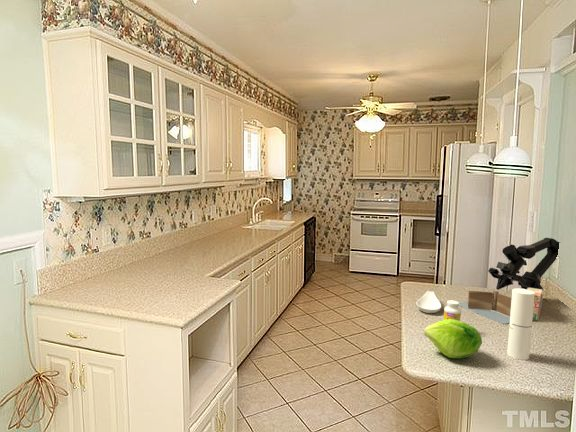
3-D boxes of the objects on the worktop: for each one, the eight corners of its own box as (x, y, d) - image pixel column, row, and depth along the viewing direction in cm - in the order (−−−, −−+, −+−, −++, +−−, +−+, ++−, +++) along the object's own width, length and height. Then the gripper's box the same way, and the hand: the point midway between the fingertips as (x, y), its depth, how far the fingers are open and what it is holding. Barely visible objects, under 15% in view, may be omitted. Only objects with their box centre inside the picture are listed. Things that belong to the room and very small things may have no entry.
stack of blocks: (527, 306, 201) (529, 283, 199) (541, 308, 197) (544, 285, 196) (522, 317, 184) (524, 292, 182) (538, 320, 180) (540, 295, 179)
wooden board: (467, 306, 196) (468, 290, 195) (490, 308, 194) (492, 292, 193) (468, 307, 195) (469, 291, 194) (491, 309, 193) (493, 293, 192)
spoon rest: (440, 317, 184) (441, 303, 183) (415, 313, 189) (415, 299, 188) (441, 302, 206) (442, 289, 205) (418, 299, 210) (418, 286, 210)
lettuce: (420, 344, 155) (428, 310, 156) (474, 360, 148) (482, 325, 149) (420, 350, 141) (428, 313, 142) (480, 369, 134) (488, 330, 135)
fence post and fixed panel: (494, 309, 195) (495, 291, 194) (522, 320, 180) (523, 300, 179) (490, 309, 194) (492, 291, 193) (518, 320, 180) (519, 301, 179)
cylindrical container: (520, 361, 141) (526, 295, 138) (502, 353, 148) (507, 289, 145) (533, 357, 144) (539, 293, 141) (515, 349, 150) (520, 287, 148)
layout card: (478, 300, 209) (478, 300, 208) (528, 320, 181) (528, 319, 181) (455, 303, 203) (455, 303, 203) (503, 324, 176) (503, 323, 176)
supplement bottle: (443, 332, 167) (444, 303, 165) (442, 326, 173) (444, 298, 171) (460, 334, 164) (461, 305, 163) (459, 328, 170) (460, 300, 169)
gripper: (491, 252, 208) (474, 274, 205) (523, 260, 190) (505, 284, 188) (501, 265, 211) (485, 287, 209) (533, 274, 194) (516, 298, 192)
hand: (497, 289), depth 199 cm, fingers closed
